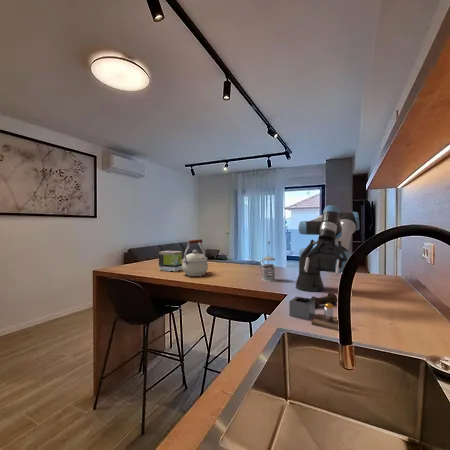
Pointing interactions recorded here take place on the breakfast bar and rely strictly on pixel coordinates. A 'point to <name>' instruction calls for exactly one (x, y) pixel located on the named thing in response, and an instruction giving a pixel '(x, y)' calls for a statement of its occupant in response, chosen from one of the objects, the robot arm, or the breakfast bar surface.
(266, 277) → the french press
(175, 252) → the tea box
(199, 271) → the kettle
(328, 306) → the keeper post
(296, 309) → the grey open box
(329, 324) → the keeper base
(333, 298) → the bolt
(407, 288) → the breakfast bar surface
